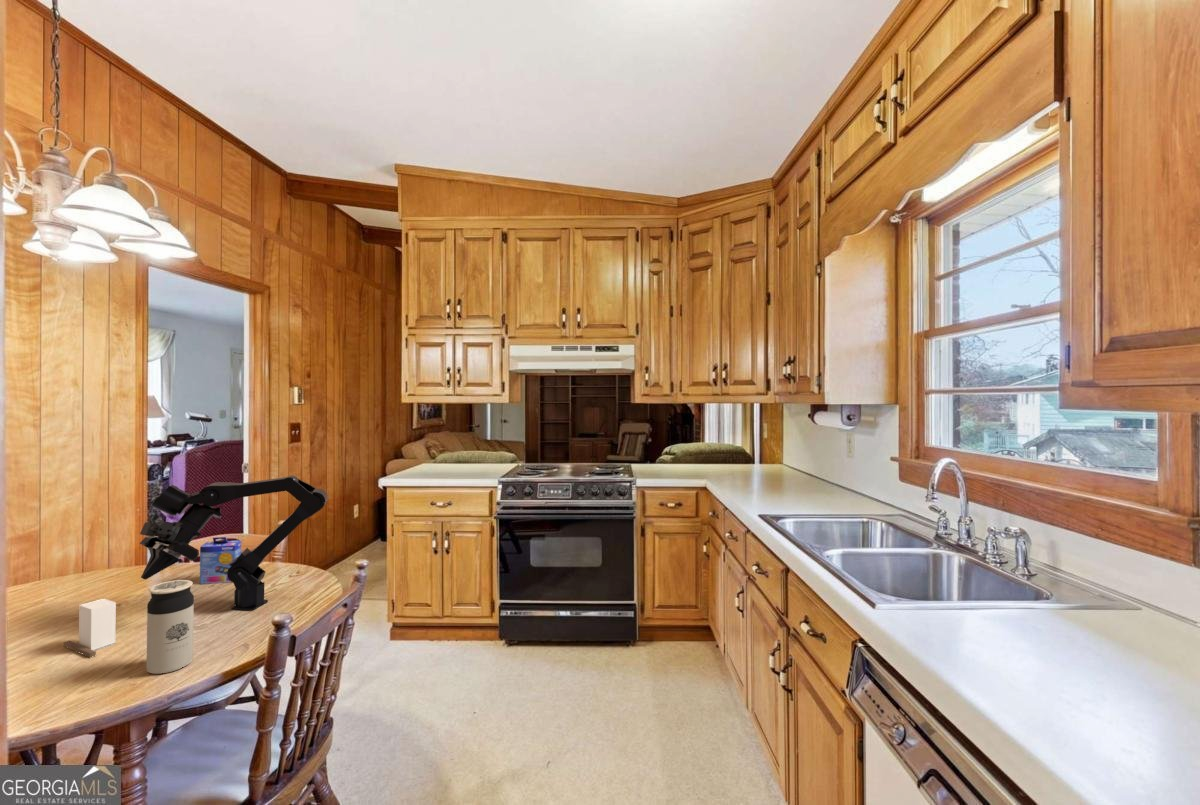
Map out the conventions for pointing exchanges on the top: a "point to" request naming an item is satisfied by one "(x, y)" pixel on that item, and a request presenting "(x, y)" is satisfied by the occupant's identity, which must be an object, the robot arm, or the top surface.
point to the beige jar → (170, 626)
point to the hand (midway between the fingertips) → (143, 578)
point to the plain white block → (97, 624)
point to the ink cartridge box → (217, 560)
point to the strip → (79, 648)
